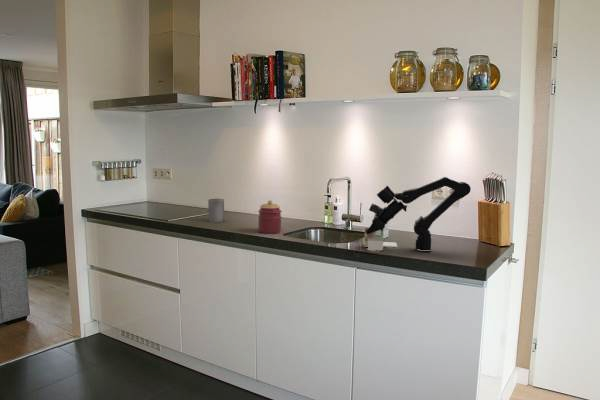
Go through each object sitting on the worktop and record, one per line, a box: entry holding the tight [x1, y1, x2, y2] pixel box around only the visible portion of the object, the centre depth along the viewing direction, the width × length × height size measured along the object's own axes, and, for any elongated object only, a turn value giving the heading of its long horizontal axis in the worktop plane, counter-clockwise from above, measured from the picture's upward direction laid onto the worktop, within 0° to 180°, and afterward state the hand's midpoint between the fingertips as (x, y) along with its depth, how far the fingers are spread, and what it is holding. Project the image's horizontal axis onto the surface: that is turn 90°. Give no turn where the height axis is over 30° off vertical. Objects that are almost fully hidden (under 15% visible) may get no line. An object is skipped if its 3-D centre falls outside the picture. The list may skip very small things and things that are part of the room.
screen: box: [367, 238, 384, 251], centre depth 214 cm, size 7×2×6 cm, turn 82°
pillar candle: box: [207, 198, 225, 223], centre depth 289 cm, size 10×10×15 cm
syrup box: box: [373, 213, 390, 239], centre depth 244 cm, size 6×6×14 cm
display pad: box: [383, 241, 398, 248], centre depth 225 cm, size 9×9×1 cm
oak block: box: [363, 227, 375, 247], centre depth 222 cm, size 5×5×9 cm
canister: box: [257, 200, 283, 235], centre depth 257 cm, size 13×13×18 cm
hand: (367, 232), depth 222 cm, fingers closed on oak block, 5 cm apart
